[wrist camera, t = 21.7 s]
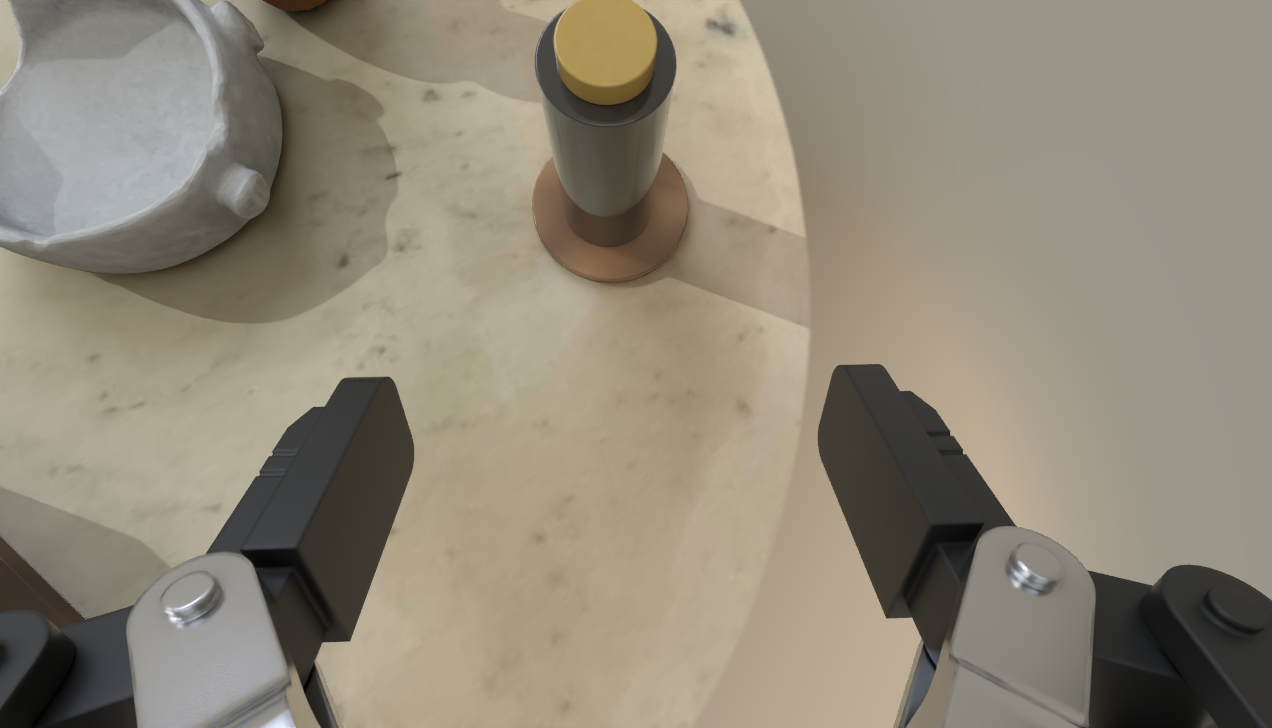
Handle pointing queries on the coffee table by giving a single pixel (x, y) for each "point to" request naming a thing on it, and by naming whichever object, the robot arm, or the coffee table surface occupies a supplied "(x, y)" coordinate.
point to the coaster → (618, 259)
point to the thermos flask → (606, 114)
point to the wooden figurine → (295, 4)
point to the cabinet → (30, 590)
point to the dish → (133, 132)
